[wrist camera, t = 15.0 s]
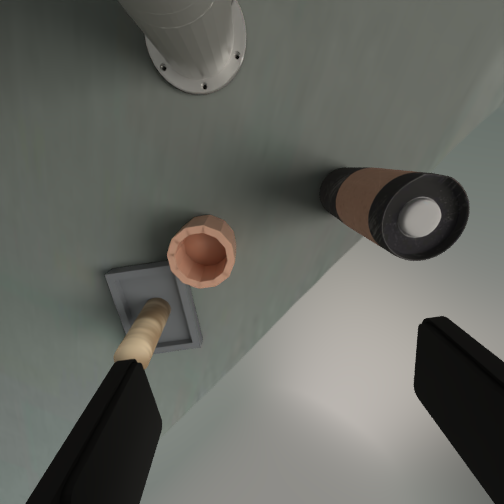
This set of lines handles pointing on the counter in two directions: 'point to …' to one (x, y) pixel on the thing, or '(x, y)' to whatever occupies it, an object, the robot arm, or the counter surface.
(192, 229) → the cup
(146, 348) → the peg
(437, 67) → the counter surface
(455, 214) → the travel mug
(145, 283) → the tray
